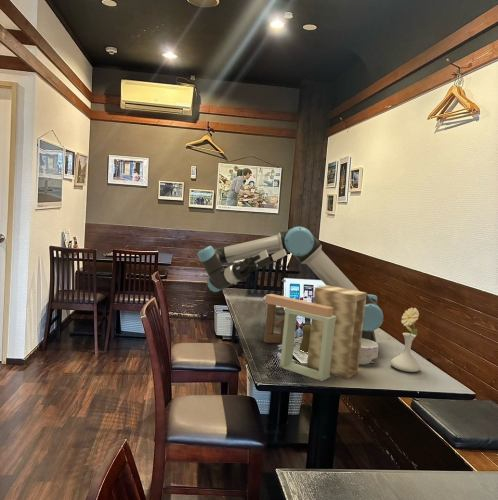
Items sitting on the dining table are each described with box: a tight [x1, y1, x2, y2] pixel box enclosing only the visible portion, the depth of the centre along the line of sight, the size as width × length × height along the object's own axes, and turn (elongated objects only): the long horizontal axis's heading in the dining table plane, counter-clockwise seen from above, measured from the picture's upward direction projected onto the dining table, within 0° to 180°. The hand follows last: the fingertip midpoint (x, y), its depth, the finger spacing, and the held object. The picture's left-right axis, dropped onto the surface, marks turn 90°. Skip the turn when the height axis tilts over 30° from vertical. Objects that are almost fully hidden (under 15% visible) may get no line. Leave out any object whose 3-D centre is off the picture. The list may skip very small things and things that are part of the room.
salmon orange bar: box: [264, 293, 333, 318], centre depth 163 cm, size 26×4×3 cm, turn 54°
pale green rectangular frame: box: [278, 307, 337, 382], centre depth 161 cm, size 18×6×22 cm, turn 54°
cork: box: [299, 324, 311, 352], centre depth 186 cm, size 6×6×11 cm
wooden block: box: [263, 303, 285, 345], centre depth 194 cm, size 4×11×18 cm, turn 95°
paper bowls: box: [359, 338, 379, 365], centre depth 180 cm, size 15×15×8 cm
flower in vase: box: [390, 307, 422, 373], centre depth 173 cm, size 13×11×25 cm
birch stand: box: [306, 284, 368, 380], centre depth 166 cm, size 16×10×30 cm, turn 54°
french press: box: [273, 278, 287, 334], centre depth 212 cm, size 10×12×25 cm
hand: (276, 252), depth 178 cm, fingers open, 13 cm apart
